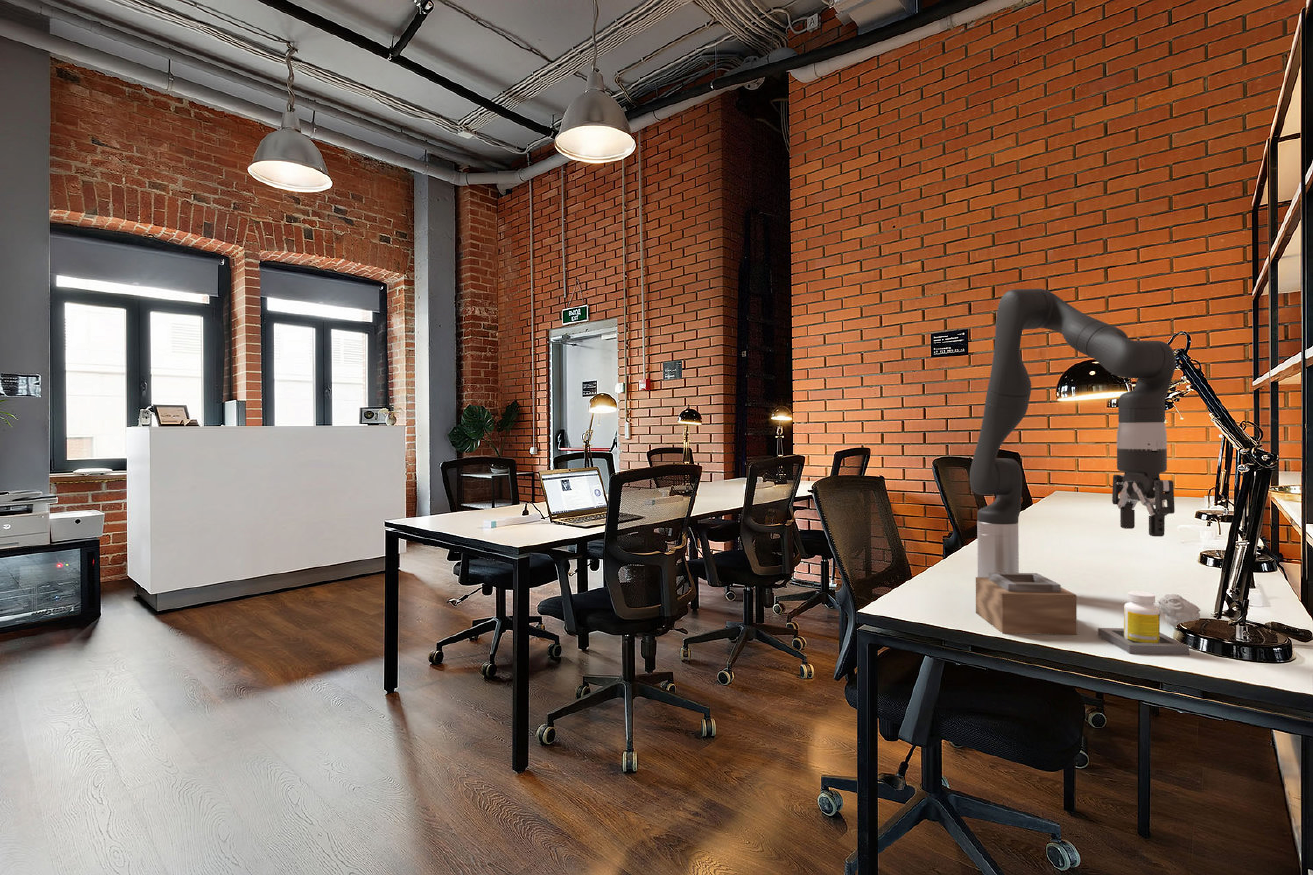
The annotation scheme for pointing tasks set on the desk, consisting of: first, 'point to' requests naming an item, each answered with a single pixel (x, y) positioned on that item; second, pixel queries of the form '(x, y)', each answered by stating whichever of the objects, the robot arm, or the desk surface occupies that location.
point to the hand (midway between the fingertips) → (1141, 532)
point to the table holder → (1164, 647)
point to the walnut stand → (1026, 604)
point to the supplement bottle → (1141, 618)
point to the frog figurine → (1178, 609)
